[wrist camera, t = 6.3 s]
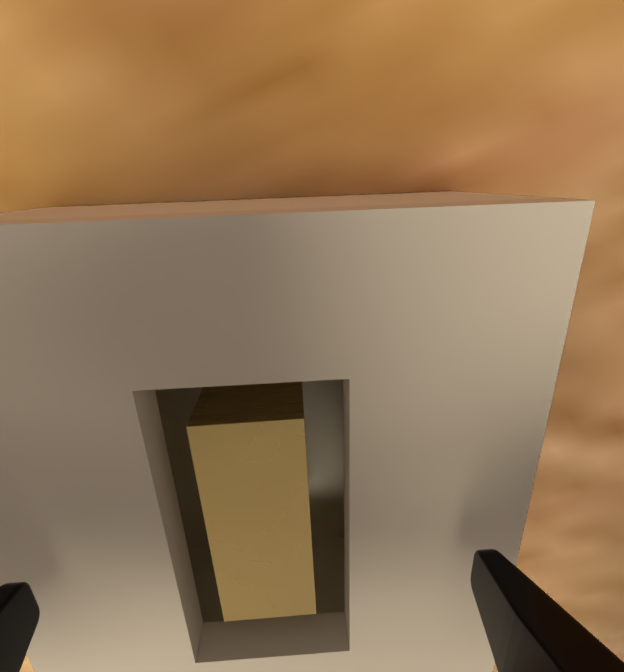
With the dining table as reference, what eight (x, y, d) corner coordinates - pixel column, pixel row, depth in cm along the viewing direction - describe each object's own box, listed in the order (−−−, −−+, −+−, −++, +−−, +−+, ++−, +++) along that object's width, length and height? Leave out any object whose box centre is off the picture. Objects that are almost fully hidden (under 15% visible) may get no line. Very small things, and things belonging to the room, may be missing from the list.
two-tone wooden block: (298, 331, 13) (304, 418, 8) (308, 478, 15) (316, 613, 10) (224, 336, 13) (185, 426, 8) (245, 483, 15) (224, 621, 10)
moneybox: (453, 190, 12) (595, 199, 6) (422, 534, 17) (485, 705, 12) (49, 206, 12) (-177, 232, 6) (142, 553, 17) (68, 740, 11)
